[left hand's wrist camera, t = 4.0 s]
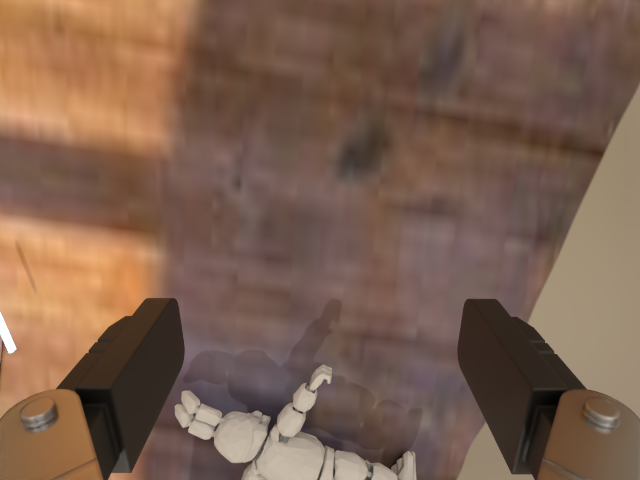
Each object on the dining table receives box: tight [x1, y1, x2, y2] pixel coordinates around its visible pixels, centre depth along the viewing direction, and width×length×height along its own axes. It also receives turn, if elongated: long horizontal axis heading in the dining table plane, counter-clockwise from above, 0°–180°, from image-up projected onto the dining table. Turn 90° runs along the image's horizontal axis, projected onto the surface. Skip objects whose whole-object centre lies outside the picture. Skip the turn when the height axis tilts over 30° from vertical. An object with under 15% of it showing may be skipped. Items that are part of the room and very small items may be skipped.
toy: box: [175, 364, 416, 480], centre depth 48 cm, size 24×25×7 cm
